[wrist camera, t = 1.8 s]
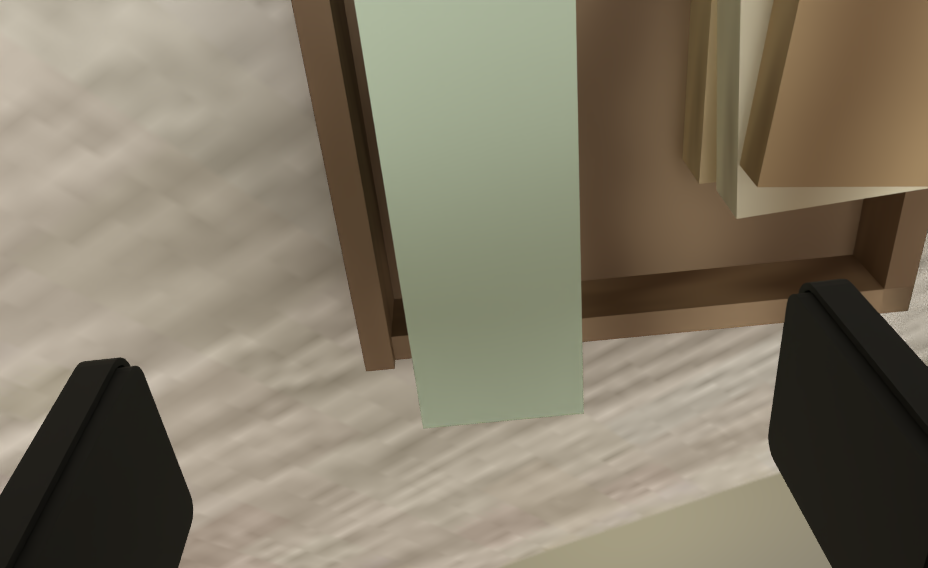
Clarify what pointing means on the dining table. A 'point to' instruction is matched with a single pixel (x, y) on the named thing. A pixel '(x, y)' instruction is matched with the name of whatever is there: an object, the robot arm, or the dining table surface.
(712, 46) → the offcut oak
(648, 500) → the dining table surface
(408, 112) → the pale green rectangular block
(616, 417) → the dining table surface
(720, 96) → the offcut birch
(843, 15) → the offcut teak
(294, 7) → the wooden tray
